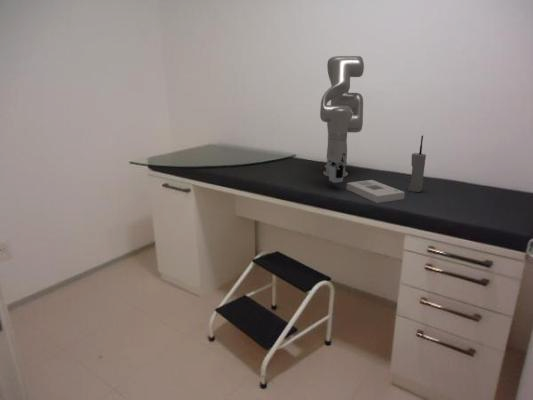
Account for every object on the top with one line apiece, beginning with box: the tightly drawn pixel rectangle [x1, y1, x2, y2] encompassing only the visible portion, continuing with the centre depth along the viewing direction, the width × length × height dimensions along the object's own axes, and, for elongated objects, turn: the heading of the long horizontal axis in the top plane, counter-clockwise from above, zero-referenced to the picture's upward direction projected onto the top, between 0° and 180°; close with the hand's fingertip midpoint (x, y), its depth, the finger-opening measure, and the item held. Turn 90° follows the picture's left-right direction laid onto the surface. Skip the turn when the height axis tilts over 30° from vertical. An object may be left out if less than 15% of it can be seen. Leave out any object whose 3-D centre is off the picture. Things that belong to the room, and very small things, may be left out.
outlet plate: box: [346, 179, 406, 204], centre depth 175 cm, size 22×14×3 cm, turn 23°
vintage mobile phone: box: [407, 135, 427, 193], centre depth 177 cm, size 4×5×25 cm
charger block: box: [328, 165, 344, 184], centre depth 182 cm, size 5×5×7 cm
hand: (336, 175), depth 183 cm, fingers closed on charger block, 4 cm apart
